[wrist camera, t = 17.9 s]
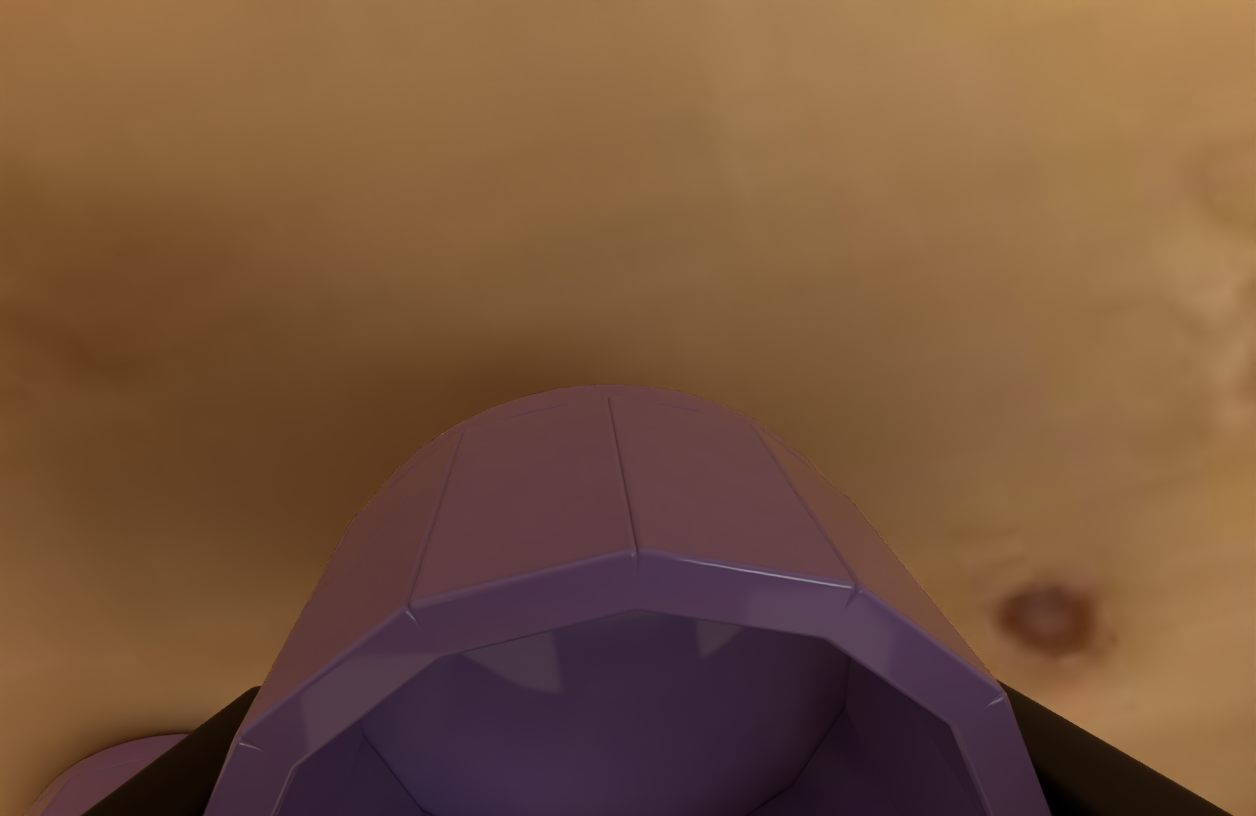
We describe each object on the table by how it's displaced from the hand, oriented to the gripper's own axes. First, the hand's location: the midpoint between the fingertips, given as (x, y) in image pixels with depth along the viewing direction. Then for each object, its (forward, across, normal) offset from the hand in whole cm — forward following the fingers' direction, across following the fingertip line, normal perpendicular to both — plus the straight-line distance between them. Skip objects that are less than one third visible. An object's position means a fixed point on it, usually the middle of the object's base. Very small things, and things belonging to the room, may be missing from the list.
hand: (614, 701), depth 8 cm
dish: (+1, 0, 0) cm, 1 cm away
